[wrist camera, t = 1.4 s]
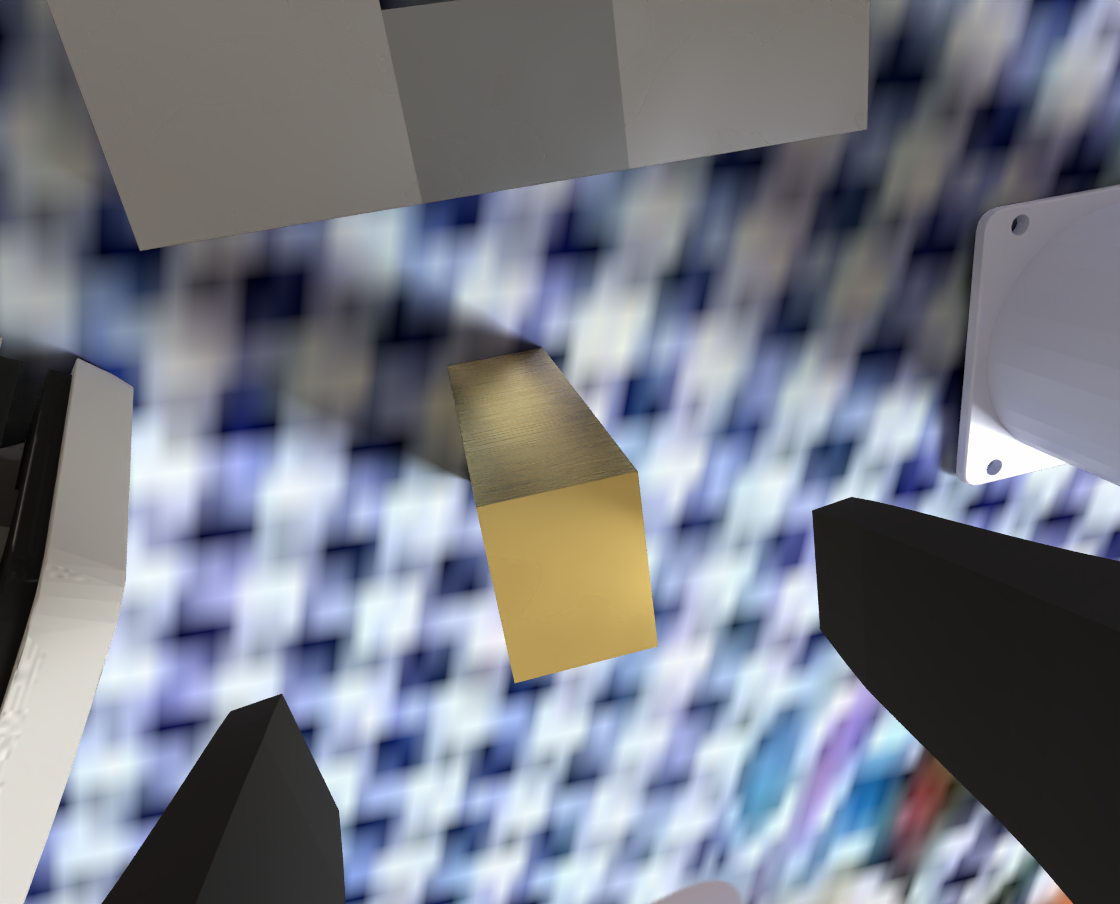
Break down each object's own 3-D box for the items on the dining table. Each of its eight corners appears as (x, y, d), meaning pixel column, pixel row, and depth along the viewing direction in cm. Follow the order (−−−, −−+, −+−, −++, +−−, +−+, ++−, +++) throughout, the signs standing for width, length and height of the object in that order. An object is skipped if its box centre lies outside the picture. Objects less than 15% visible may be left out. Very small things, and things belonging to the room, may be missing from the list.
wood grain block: (542, 347, 18) (637, 471, 10) (561, 462, 19) (658, 646, 12) (447, 366, 17) (476, 507, 10) (472, 481, 19) (514, 682, 11)
